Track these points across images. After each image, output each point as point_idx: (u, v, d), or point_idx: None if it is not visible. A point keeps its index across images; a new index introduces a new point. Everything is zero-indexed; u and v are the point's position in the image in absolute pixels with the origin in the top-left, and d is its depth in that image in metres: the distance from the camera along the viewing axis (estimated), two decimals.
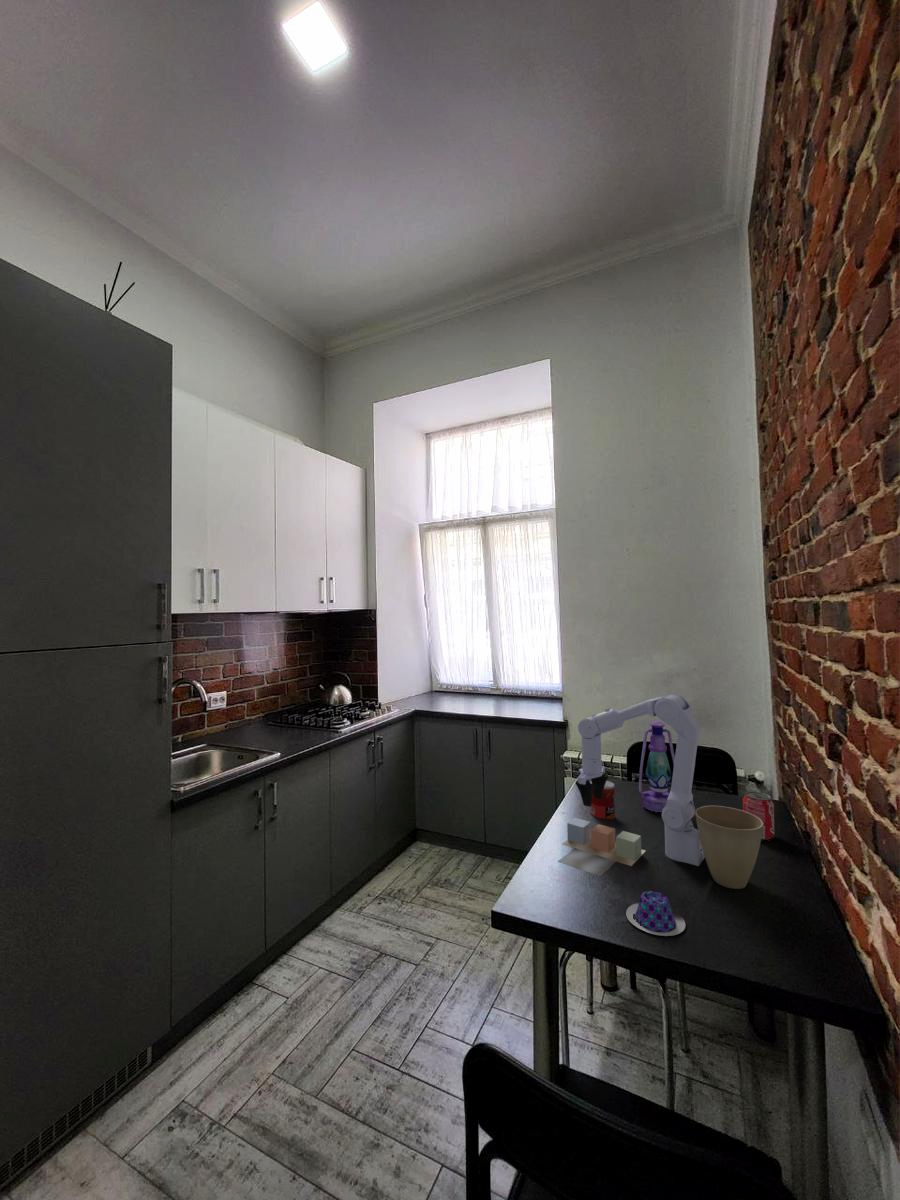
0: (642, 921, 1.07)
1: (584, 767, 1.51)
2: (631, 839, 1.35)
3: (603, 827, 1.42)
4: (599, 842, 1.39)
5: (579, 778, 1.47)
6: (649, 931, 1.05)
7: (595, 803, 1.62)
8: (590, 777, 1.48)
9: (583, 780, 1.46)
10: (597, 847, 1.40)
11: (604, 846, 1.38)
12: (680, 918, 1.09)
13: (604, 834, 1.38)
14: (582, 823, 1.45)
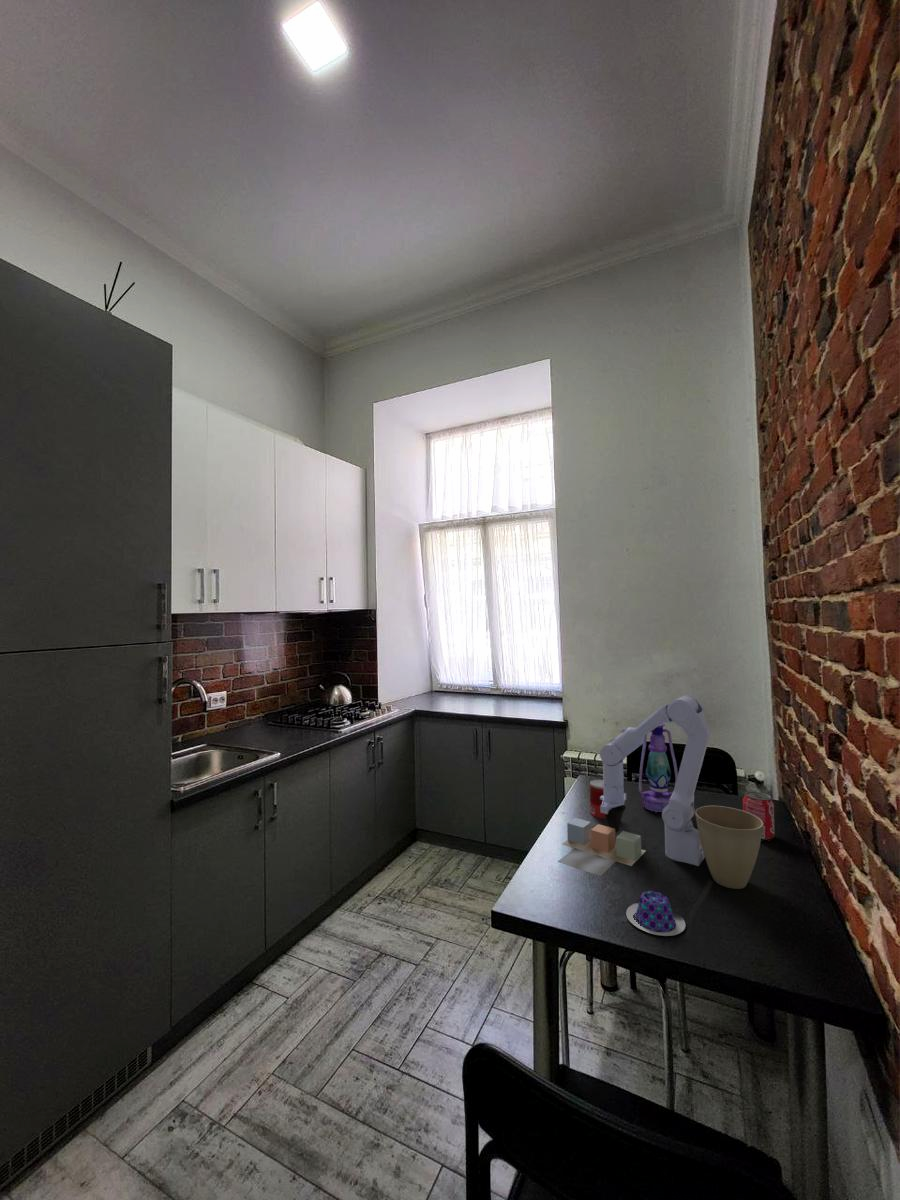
0: (642, 921, 1.07)
1: (606, 795, 1.46)
2: (631, 839, 1.35)
3: (603, 827, 1.42)
4: (599, 842, 1.39)
5: (601, 807, 1.42)
6: (649, 931, 1.05)
7: (595, 803, 1.62)
8: (612, 806, 1.43)
9: (605, 809, 1.41)
10: (597, 847, 1.40)
11: (604, 846, 1.38)
12: (679, 917, 1.09)
13: (604, 834, 1.38)
14: (582, 823, 1.45)
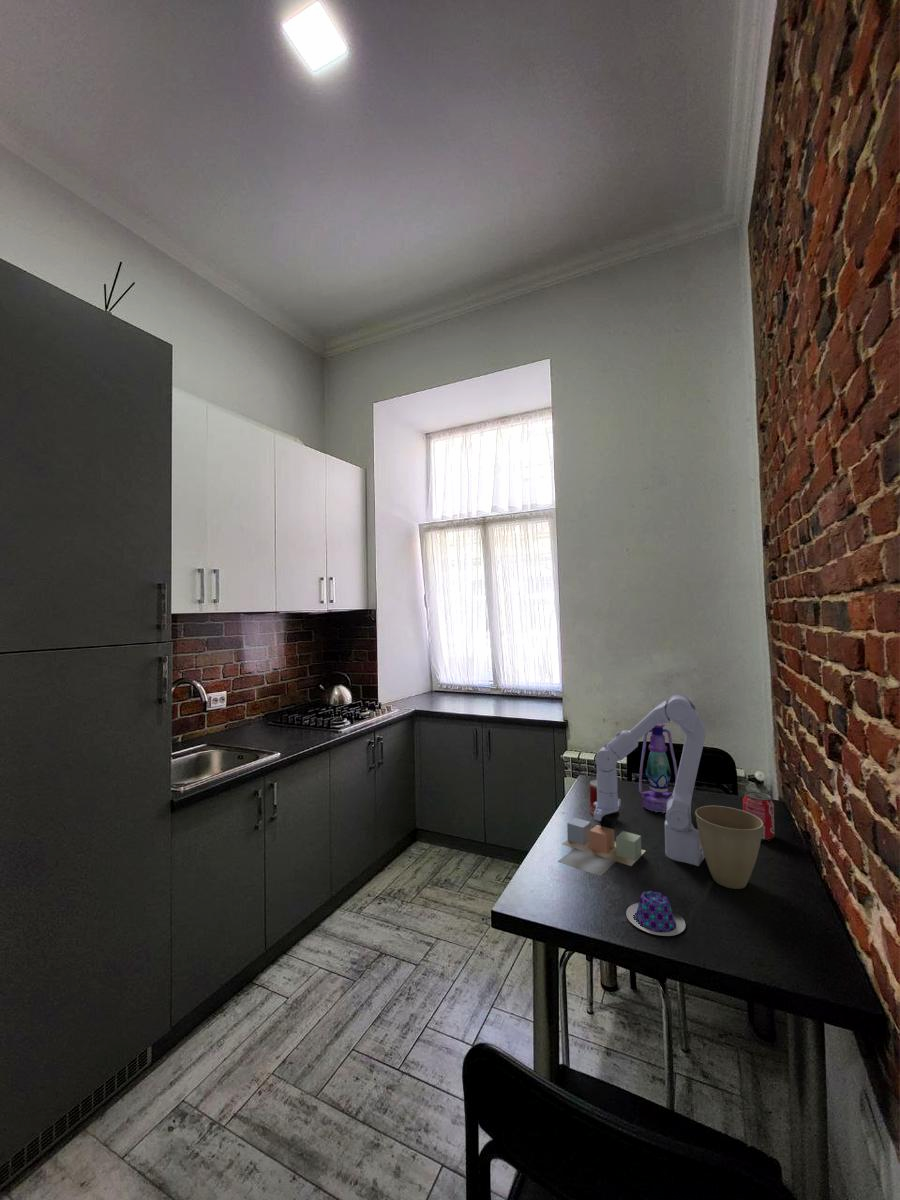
0: (643, 921, 1.07)
1: (599, 801, 1.43)
2: (631, 839, 1.35)
3: (602, 828, 1.42)
4: (598, 843, 1.39)
5: (594, 814, 1.39)
6: (651, 931, 1.05)
7: None
8: (606, 813, 1.40)
9: (598, 816, 1.38)
10: (596, 848, 1.39)
11: (603, 847, 1.38)
12: (679, 917, 1.09)
13: (603, 834, 1.38)
14: (582, 823, 1.45)
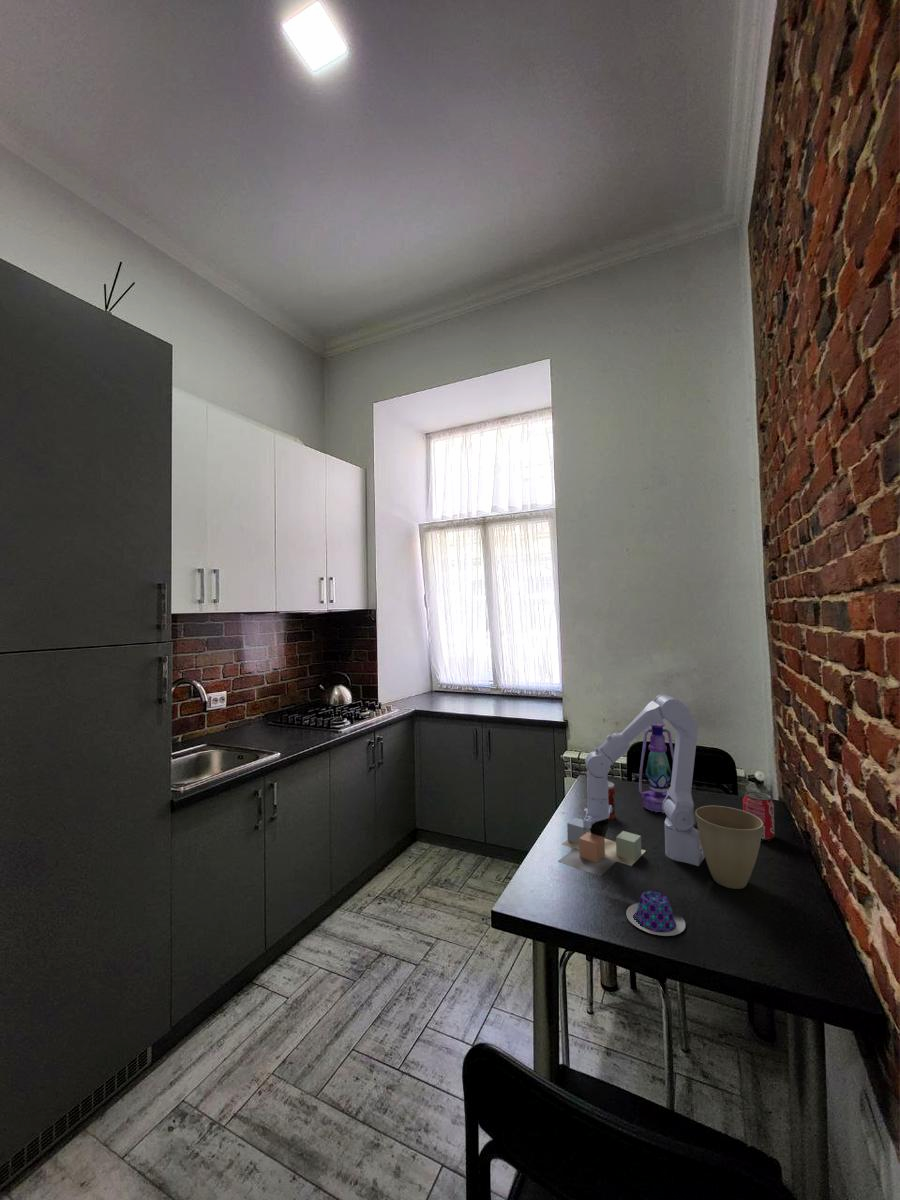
0: (643, 922, 1.07)
1: (589, 808, 1.38)
2: (631, 839, 1.35)
3: (592, 835, 1.37)
4: (587, 851, 1.34)
5: (584, 821, 1.34)
6: (651, 932, 1.04)
7: None
8: (596, 820, 1.35)
9: (588, 824, 1.33)
10: (585, 856, 1.34)
11: (592, 856, 1.33)
12: (679, 916, 1.09)
13: (593, 842, 1.33)
14: (582, 823, 1.45)
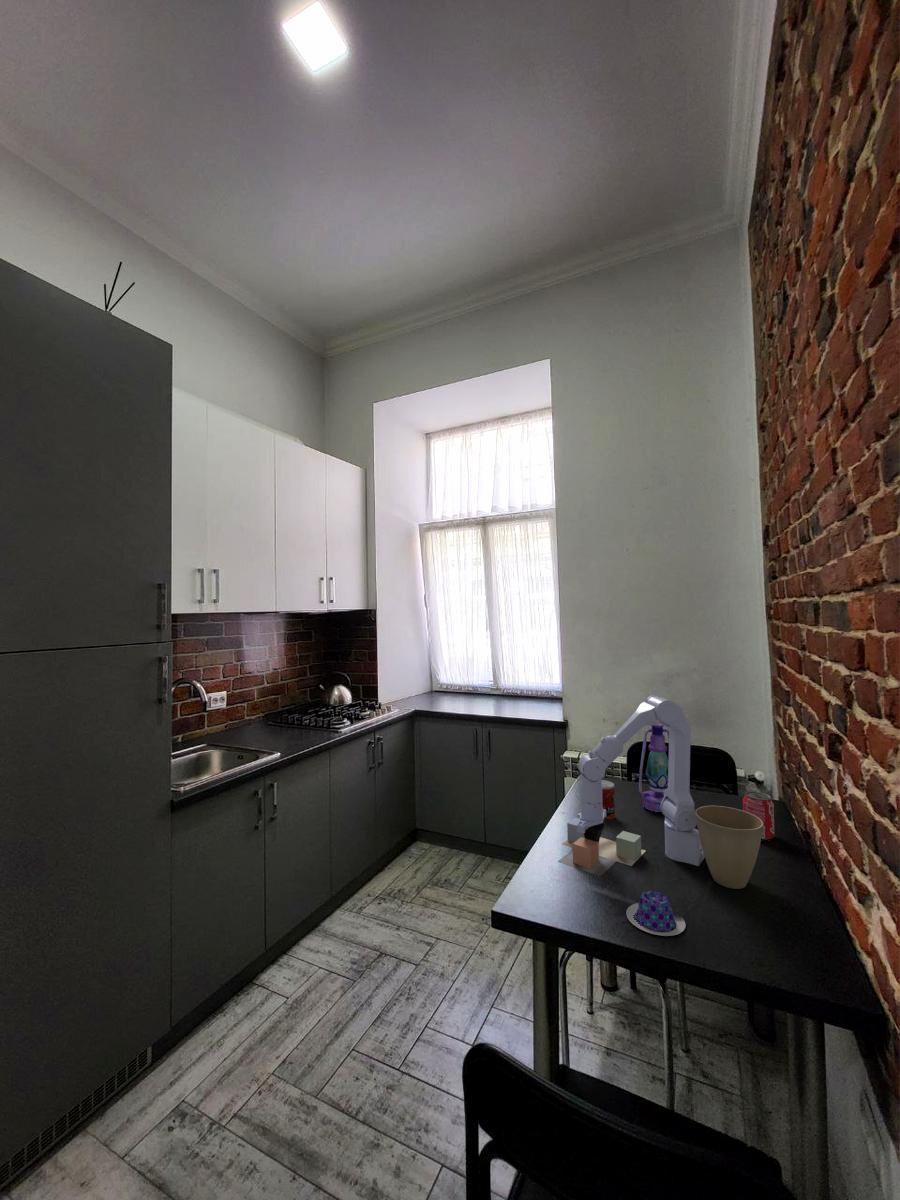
0: (644, 922, 1.07)
1: (583, 813, 1.35)
2: (631, 839, 1.35)
3: (586, 841, 1.34)
4: (581, 857, 1.31)
5: (577, 826, 1.31)
6: (652, 932, 1.04)
7: None
8: (590, 825, 1.32)
9: (582, 829, 1.30)
10: (579, 862, 1.31)
11: (586, 861, 1.30)
12: (678, 916, 1.10)
13: (587, 848, 1.30)
14: None
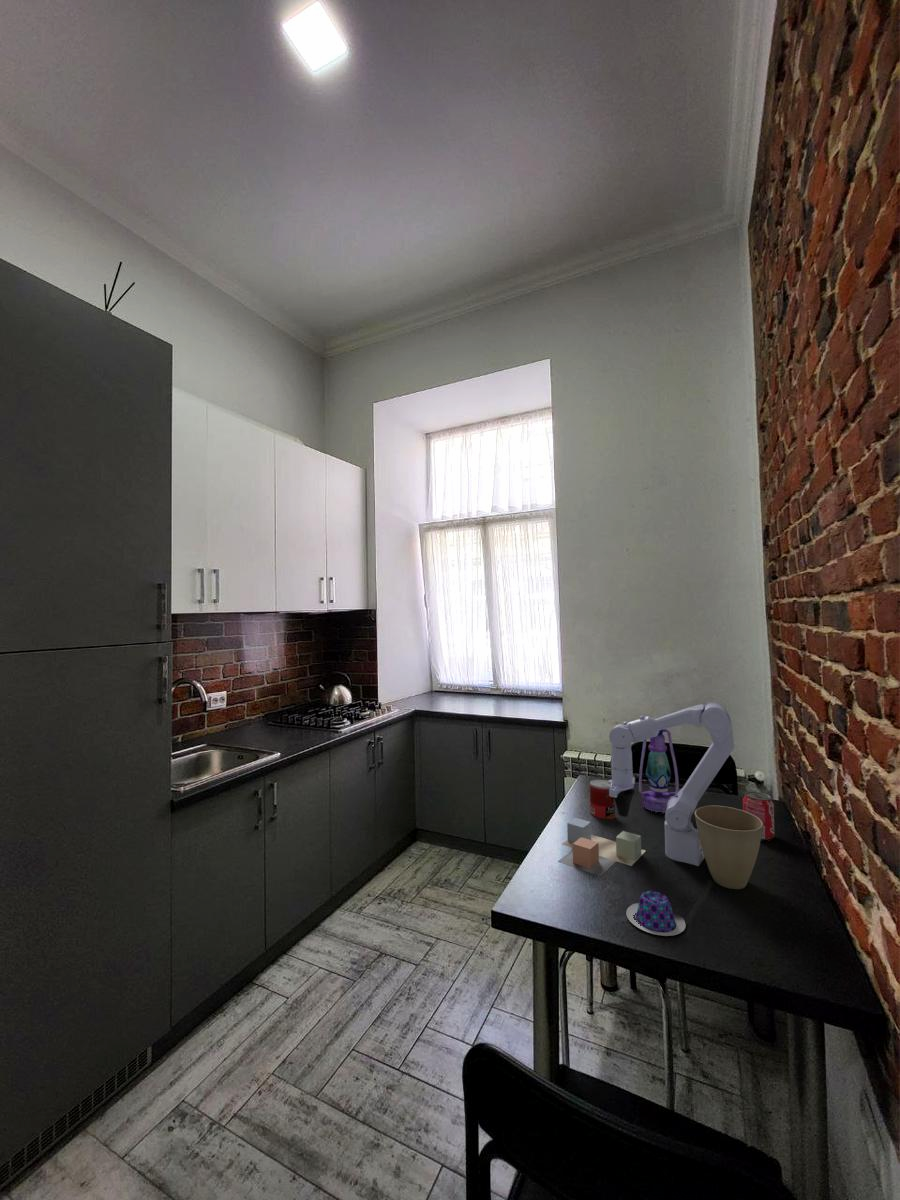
0: (645, 922, 1.07)
1: (614, 779, 1.42)
2: (631, 839, 1.35)
3: (586, 840, 1.34)
4: (581, 857, 1.31)
5: (610, 790, 1.38)
6: (654, 932, 1.04)
7: (595, 803, 1.62)
8: (621, 789, 1.38)
9: (614, 793, 1.37)
10: (579, 862, 1.31)
11: (586, 861, 1.30)
12: (677, 915, 1.10)
13: (587, 848, 1.30)
14: (582, 823, 1.45)
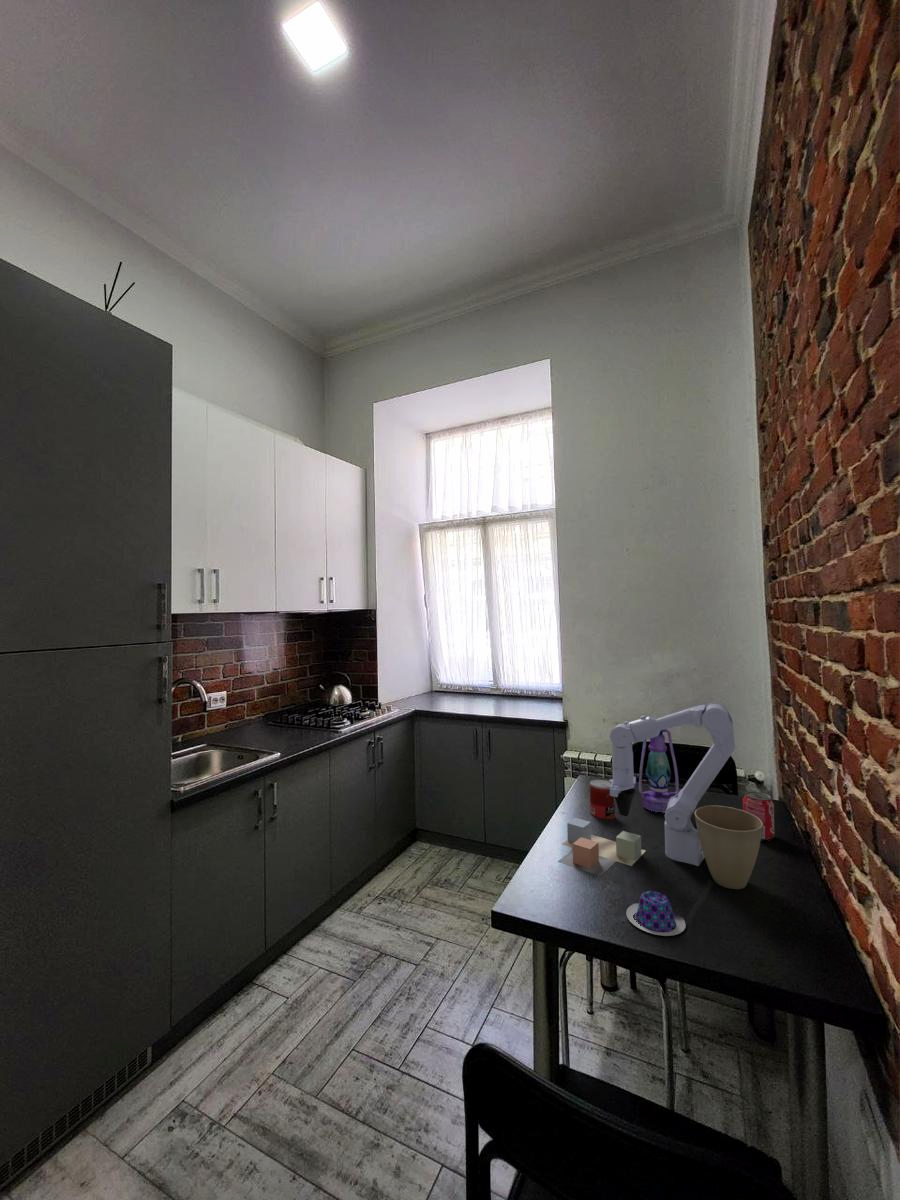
0: (645, 923, 1.07)
1: (615, 778, 1.42)
2: (631, 839, 1.35)
3: (586, 840, 1.34)
4: (581, 857, 1.31)
5: (611, 790, 1.38)
6: (654, 932, 1.04)
7: (595, 803, 1.62)
8: (622, 789, 1.39)
9: (615, 792, 1.37)
10: (579, 862, 1.31)
11: (586, 861, 1.30)
12: (677, 915, 1.10)
13: (587, 848, 1.30)
14: (582, 823, 1.45)
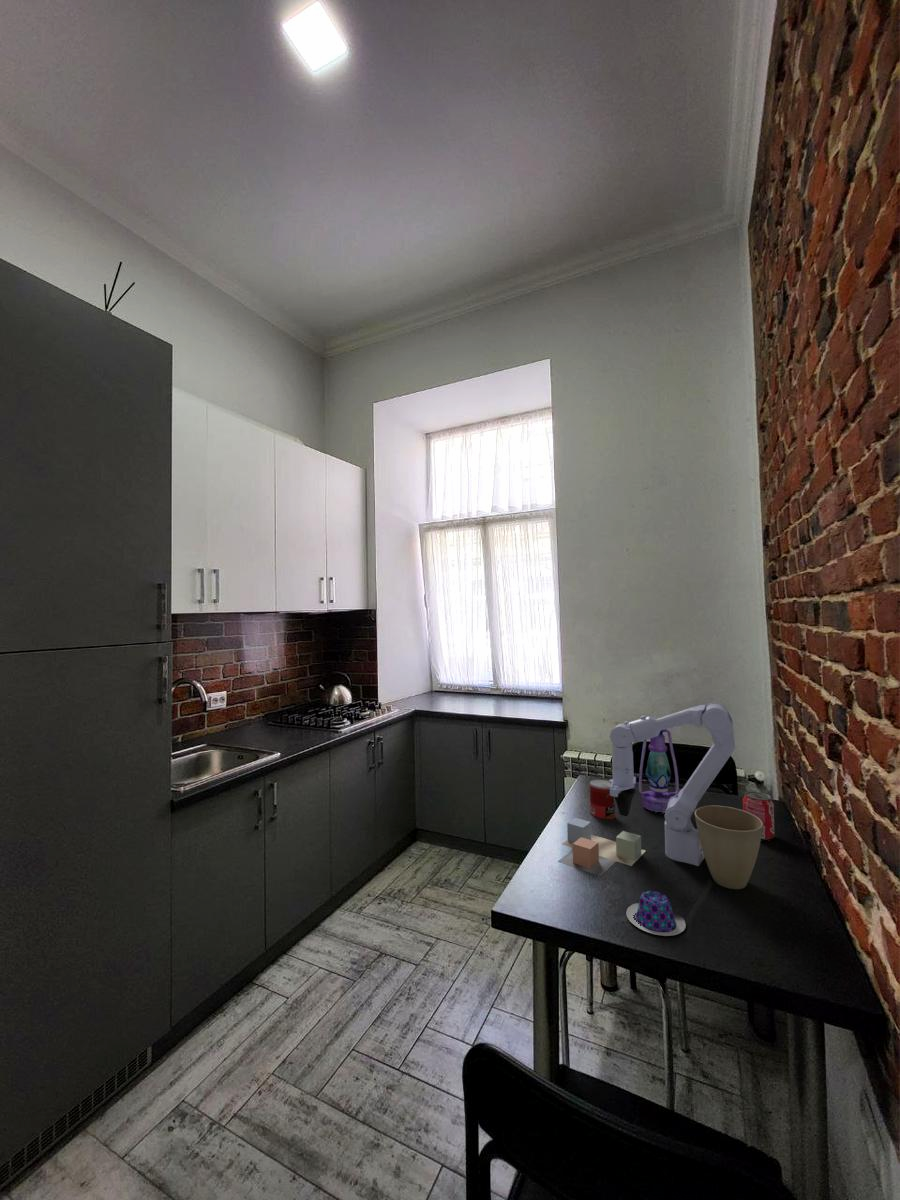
0: (645, 923, 1.06)
1: (615, 778, 1.42)
2: (631, 839, 1.35)
3: (586, 840, 1.34)
4: (581, 857, 1.31)
5: (611, 790, 1.38)
6: (655, 932, 1.04)
7: (595, 803, 1.62)
8: (622, 789, 1.39)
9: (615, 792, 1.37)
10: (579, 862, 1.31)
11: (586, 861, 1.30)
12: None
13: (587, 848, 1.30)
14: (582, 823, 1.45)
